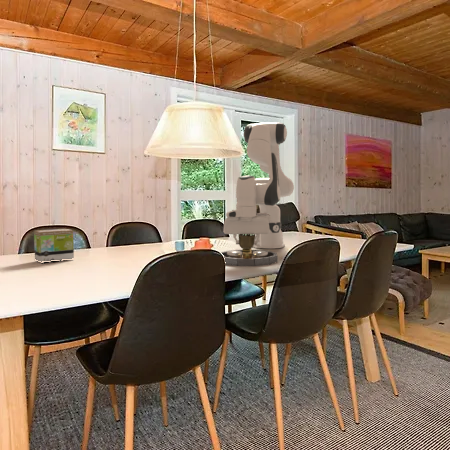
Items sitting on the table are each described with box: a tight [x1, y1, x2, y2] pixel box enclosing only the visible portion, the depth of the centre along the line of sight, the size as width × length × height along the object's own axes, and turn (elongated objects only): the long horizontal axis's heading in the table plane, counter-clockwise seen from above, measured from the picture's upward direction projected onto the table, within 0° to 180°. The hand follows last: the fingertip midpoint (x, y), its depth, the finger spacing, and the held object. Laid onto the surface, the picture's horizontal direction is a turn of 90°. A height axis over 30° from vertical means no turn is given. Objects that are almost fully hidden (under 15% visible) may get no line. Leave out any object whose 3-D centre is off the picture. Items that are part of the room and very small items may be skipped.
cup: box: [237, 234, 255, 253], centre depth 173 cm, size 8×7×8 cm
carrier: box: [221, 247, 278, 267], centre depth 181 cm, size 27×27×6 cm
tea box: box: [33, 228, 75, 262], centre depth 186 cm, size 15×10×15 cm
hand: (246, 244), depth 173 cm, fingers closed on cup, 6 cm apart
